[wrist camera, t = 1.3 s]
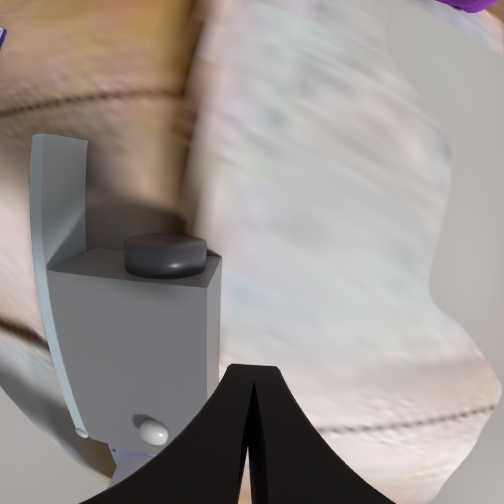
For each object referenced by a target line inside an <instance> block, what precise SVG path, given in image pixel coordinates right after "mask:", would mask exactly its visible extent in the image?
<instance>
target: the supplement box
mask: <svg viewBox="0 0 504 504" xmlns="http://www.w3.org/2000/svg"><path fill="white" fill-rule="evenodd" d="M5 35H6V30H5V29H3V28H1V27H0V49H1V46H2V43H3V41H4V38H5Z"/></svg>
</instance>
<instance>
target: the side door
mask: <svg viewBox="0 0 504 504" xmlns="http://www.w3.org/2000/svg"><path fill="white" fill-rule="evenodd" d="M87 146H88V140H83V139H77V138H72V137H65V136H59V135H53V134H46V133H42V134H36V135H33V136H32V148H31V151H30V165H29V182H30V222H31V238H32V250H33V260H34V269H35V277H36V284H37V290H38V296H39V302H40V308H41V313H42V318H43V323H44V327H45V332H46V336H47V340H48V344H49V348H50V352H51V356H52V359H53V363H54V367H55V370H56V373H57V377H58V380H59V383H60V386H61V389H62V392H63V395H64V398H65V401H66V403H67V406H68V409H69V412H70V414H71V417H72V419H73V422H74V424H75V427H76V428H75V432H76V433H77V434H78V435H79V436H81V437H83V438H87V437H88V432H87V430H86V427H85V424H84V422H83V419H82V416H81V414H80V411H79V408H78V405H77V402H76V399H75V396H74V393H73V390H72V387H71V383H70V380H69V377H68V373H67V370H66V366H65V362H64V358H63V354H62V350H61V346H60V342H59V338H58V333H57V328H56V324H55V318H54V313H53V308H52V302H51V295H50V289H49V282H48V274H47V270H49V269H51V268H53V267H55V266H57V265H59V264H61V263H63V262H65V261H67V260H69V259H72V258H74V257H76V256H78V255H80V254H82V253H84V252H86V251H87V245H86V216H85V189H86V161H87Z"/></svg>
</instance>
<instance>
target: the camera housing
mask: <svg viewBox="0 0 504 504" xmlns="http://www.w3.org/2000/svg"><path fill="white" fill-rule="evenodd" d="M206 246H207V242H206V241H205V240H203V239H201V238H198V237H194V236H188V235H178V234H152V235H143V236H137V237H133V238H130V239H127V240H126V241H125V242H124V250H119V249H106V248H93V249H91V250H88V251H86V252H84V253H82V254H80V255H78V256H76V257H74V258H72V259H69V260H67V261H65V262H63V263H61V264H59V265H57V266H55V267H53V268H51V269H49V270H47V274H48V282H49V289H50V295H51V302H52V308H53V313H54V318H55V324H56V328H57V333H58V338H59V342H60V346H61V350H62V354H63V358H64V362H65V366H66V370H67V373H68V377H69V380H70V383H71V387H72V390H73V393H74V396H75V399H76V402H77V405H78V408H79V411H80V414H81V416H82V419H83V422H84V424H85V427H86V430H87V432H88V435H89V437H90V438H91V439H94V440H97V441H100V442H104V443H107V444H111V445H114V446H118V447H121V448H125V449H129V450H133V451H137V452H142V453H146V454H151V455H155V456H156V455H157V454H158V453H160V452H161V451H162V450H163V449H164V448H165V447H166V446H168V445H169V444H170V443H171V442H172V441H173V440H174V439H175V438H176V437H177V436H178V435H179V434H180V433H181V432H182V431H183V430H184V429H185V427H186V426H187V425H188V424H189V423H190V422H191V421H192V419H193V418H194V417H195V416H196V415H197V414H198V413H199V411H200V410H201V409H202V407H203V406H204V405H205V403H206V402H207V401H208V399H209V398H210V397H211V395H212V394H213V392H214V391H215V389H216V388H217V386H218V385H219V332H220V296H221V268H222V257H215V256H206Z"/></svg>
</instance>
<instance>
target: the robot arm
mask: <svg viewBox="0 0 504 504" xmlns="http://www.w3.org/2000/svg"><path fill="white" fill-rule="evenodd" d="M108 446H109V449H110V452H111V454H112V457H113V459H114V461H115V464H116V466H117V467H116V470H115V472H114V474H113V476H112V479H111V481H110V483H109V486H108V488H107V489H106V490H105V491H103V492H101V493H99V494H97V495H95V496H94V497H92V498H90V499H88V500H86V501H84V502H81V503H79V504H238V500H239V494H240V489H241V483H242V478H243V472H244V466H245V460H246V454H247V448H248V454H249V470H250V485H251V499H252V504H396V503H394V502H393V501H391V500H390V499H389V498H387V497H386V496H384V495H383V494H382V493H380V492H379V491H377V490H376V489H375V488H373V487H372V486H371V485H369V484H368V483H367V482H366V481H364V480H363V479H362V478H361V477H360V476H359V475H358V474H357V473H355V472H354V471H353V470H352V469H351V468H350V467H349V466H348V465H347V464H346V463H345V462H344V461H343V460H342V459H341V458H340V457H339V456H338V455H337V454H336V453H335V452H334V451H333V450H332V449H331V447H330V446H329V445H328V444H327V443H326V442H325V440H324V439H323V438H322V437H321V435H320V434H319V433H318V432H317V430H316V429H315V428H314V427H313V425H312V424H311V422H310V421H309V420H308V418H307V417H306V415H305V414H304V412H303V411H302V409H301V408H300V406H299V405H298V403H297V402H296V400H295V398H294V397H293V395H292V393H291V392H290V390H289V388H288V386H287V384H286V382H285V380H284V378H283V376H282V374H281V372H280V370H279V369H278V367H277V366H260V365H245V364H231V365H229V366H228V367H227V370H226V372H225V374H224V376H223V378H222V380H221V381H220V383H219V385H218V386H217V388H216V389H215V391H214V392H213V394H212V395H211V397H210V398H209V399H208V401H207V402H206V403H205V405H204V406H203V407H202V409H201V410H200V411H199V413H198V414H197V415H196V416H195V417H194V418H193V419H192V421H191V422H190V423H189V424H188V425H187V426H186V427H185V429H184V430H183V431H182V432H181V433H180V434H179V435H178V436H177V437H176V438H175V439H174V440H173V441H172V442H171V443H170V444H169V445H168V446H166V447H165V448H164V449H163V450H162V451H161V452H160V453H158V454H157V455H156V456H155V455H151V454H146V453H142V452H137V451H133V450H129V449H125V448H121V447H118V446H114V445H111V444H108Z"/></svg>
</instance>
